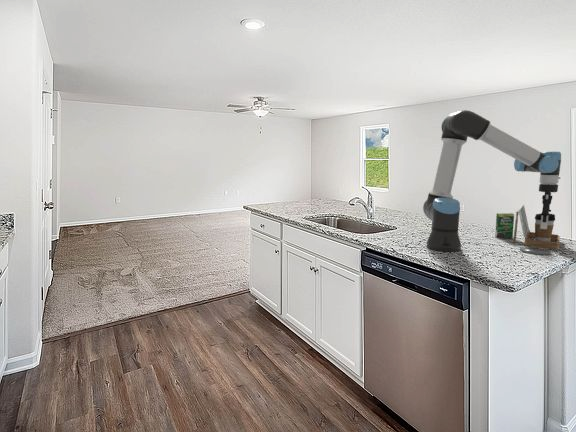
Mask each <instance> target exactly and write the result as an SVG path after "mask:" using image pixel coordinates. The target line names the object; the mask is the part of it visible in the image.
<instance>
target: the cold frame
mask: <svg viewBox="0 0 576 432" xmlns="http://www.w3.org/2000/svg"><path fill="white" fill-rule="evenodd" d="M517 210H518V211H516V212H515V219H514V222H515V223H514V229H513V242H512V243H513V244H516V242H517V241H516V240H517V234H518V233H517V231H518V223H519V222H518V221H519V220H520V225H521V229H522V234H523V238H524V245H523V247H535V248H542V249H546V250H552V249H553V250H554V251H559V250H560V237H561V236H560V235H558V234H554V233H552V235H551V238H550V242H549V241H540V240H535V231H531V229H530V227H529V222H528V216H527V213H526V208H525V204H521V206H519V208H518V209H517ZM555 241H556V242H555Z"/></svg>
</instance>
